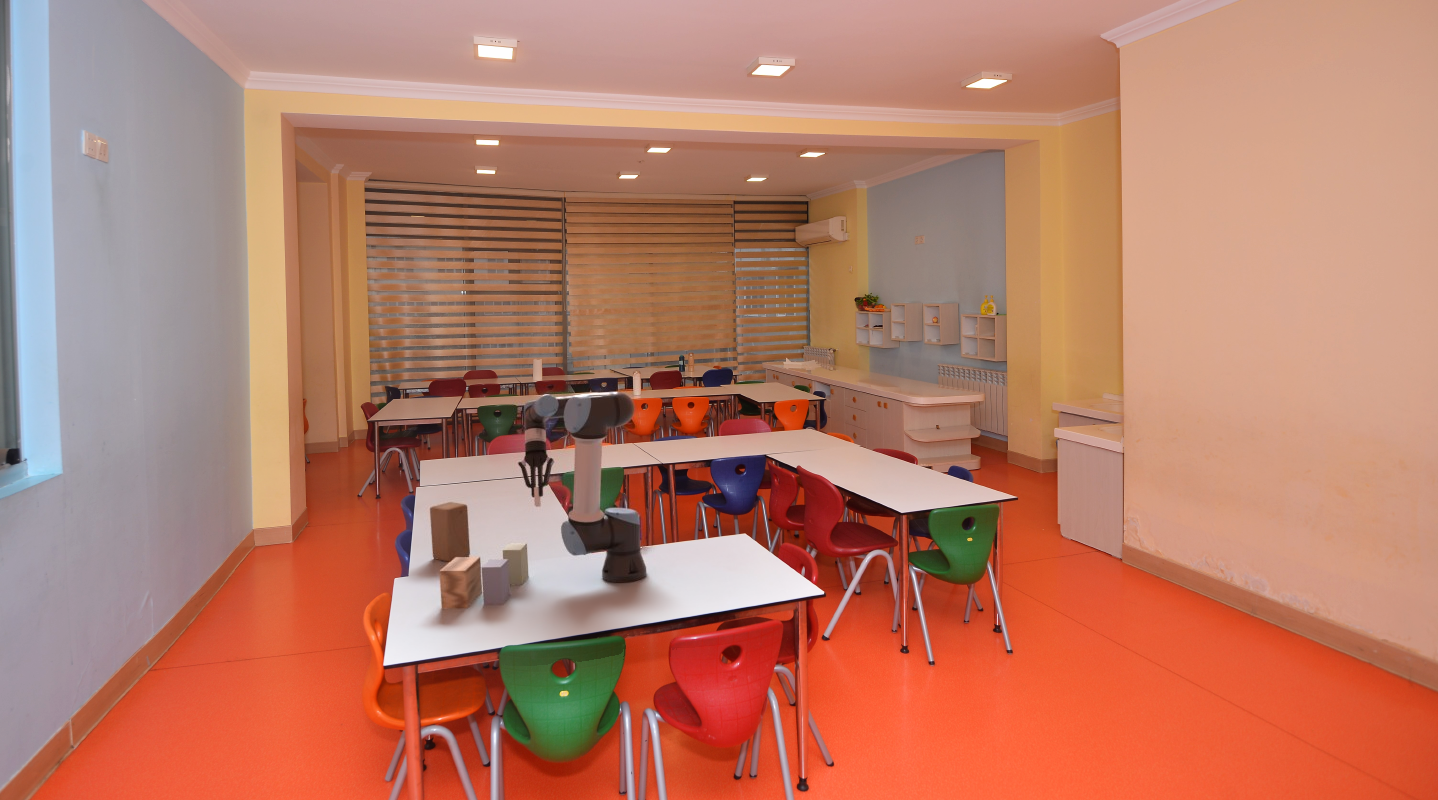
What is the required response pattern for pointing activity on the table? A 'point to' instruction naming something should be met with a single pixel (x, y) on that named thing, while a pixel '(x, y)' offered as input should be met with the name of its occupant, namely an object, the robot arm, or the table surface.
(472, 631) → the table surface
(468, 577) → the oak block
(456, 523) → the wooden block
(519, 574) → the beige block
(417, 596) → the table surface
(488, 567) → the lavender block
